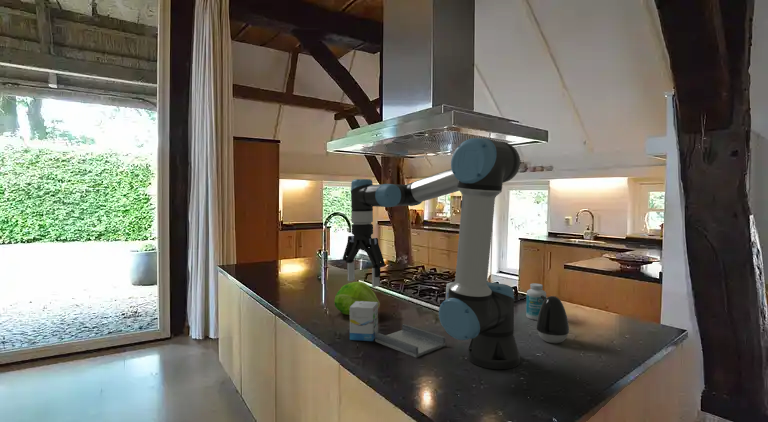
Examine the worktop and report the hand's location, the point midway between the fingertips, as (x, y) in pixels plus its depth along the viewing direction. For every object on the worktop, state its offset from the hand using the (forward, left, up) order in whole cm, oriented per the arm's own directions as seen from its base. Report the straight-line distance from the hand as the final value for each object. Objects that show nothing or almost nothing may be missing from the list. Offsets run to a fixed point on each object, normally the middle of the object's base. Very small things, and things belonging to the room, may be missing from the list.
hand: (363, 283), depth 144 cm
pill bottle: (-32, -63, -19) cm, 73 cm away
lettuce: (+22, -14, -19) cm, 32 cm away
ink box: (0, 0, -19) cm, 19 cm away
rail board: (-16, -6, -19) cm, 26 cm away
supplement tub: (-13, -37, -19) cm, 44 cm away
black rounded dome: (-48, -43, -19) cm, 67 cm away
